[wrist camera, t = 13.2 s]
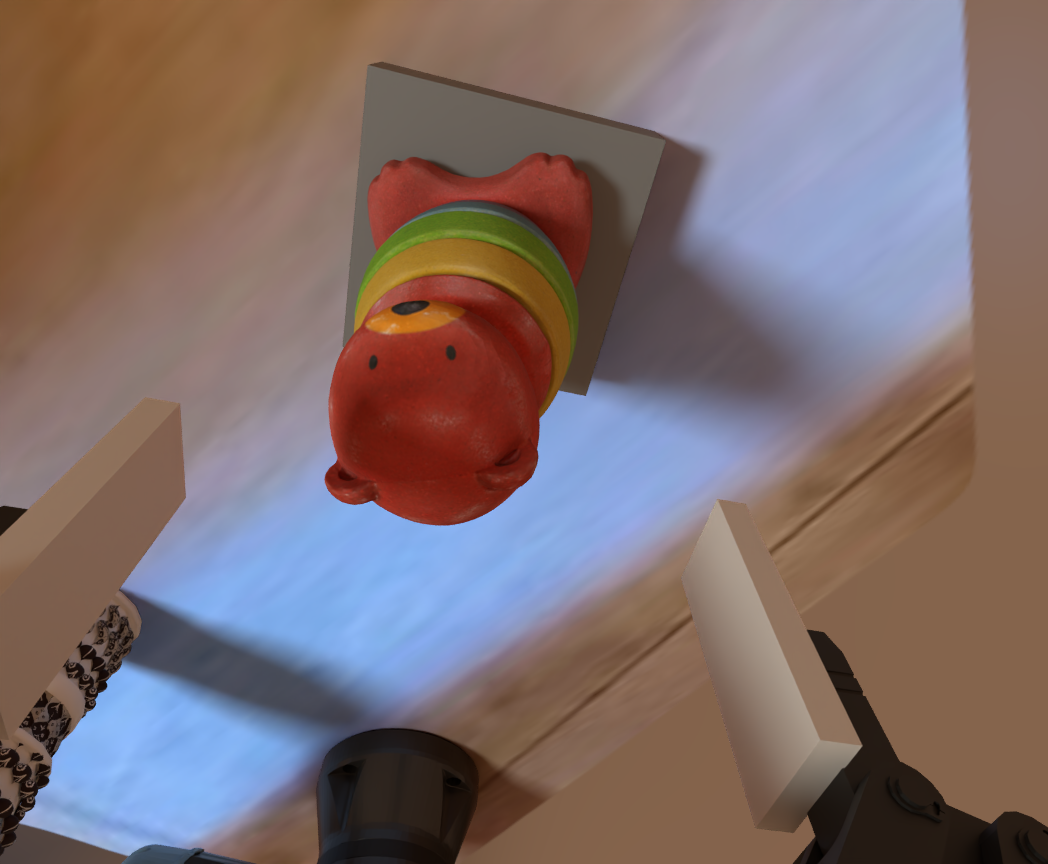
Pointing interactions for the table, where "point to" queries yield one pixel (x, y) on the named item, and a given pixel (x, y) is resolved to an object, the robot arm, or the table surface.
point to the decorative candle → (62, 711)
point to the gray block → (495, 146)
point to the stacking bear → (458, 335)
